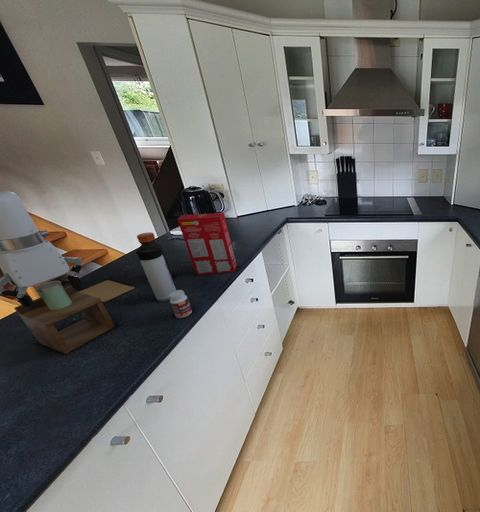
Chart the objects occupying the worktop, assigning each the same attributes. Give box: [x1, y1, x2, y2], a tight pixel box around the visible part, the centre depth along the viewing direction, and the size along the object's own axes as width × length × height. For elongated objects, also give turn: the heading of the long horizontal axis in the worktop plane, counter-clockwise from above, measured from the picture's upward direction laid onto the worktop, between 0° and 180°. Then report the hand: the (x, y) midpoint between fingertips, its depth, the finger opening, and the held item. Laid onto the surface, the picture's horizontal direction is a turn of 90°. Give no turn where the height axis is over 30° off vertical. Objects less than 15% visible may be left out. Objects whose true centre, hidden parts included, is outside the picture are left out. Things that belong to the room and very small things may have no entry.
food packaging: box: [177, 212, 238, 276], centre depth 113 cm, size 15×5×25 cm, turn 104°
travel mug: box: [135, 247, 177, 302], centre depth 96 cm, size 6×7×20 cm
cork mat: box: [79, 279, 136, 303], centre depth 103 cm, size 16×10×1 cm, turn 72°
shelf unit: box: [13, 285, 116, 355], centre depth 80 cm, size 12×12×13 cm
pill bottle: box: [169, 289, 193, 319], centre depth 90 cm, size 5×5×8 cm
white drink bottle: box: [136, 231, 174, 280], centre depth 107 cm, size 7×7×20 cm
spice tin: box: [34, 280, 72, 310], centre depth 76 cm, size 5×5×7 cm
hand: (55, 297), depth 76 cm, fingers open, 9 cm apart
